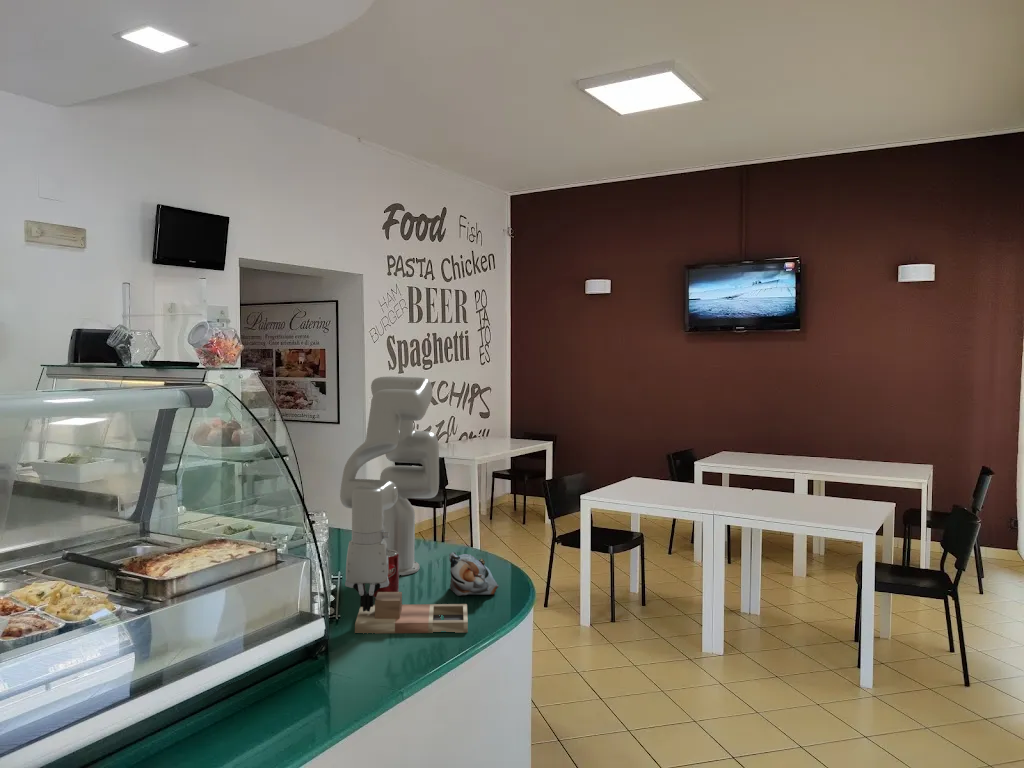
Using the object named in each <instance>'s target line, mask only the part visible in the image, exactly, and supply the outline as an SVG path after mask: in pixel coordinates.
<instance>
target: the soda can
mask: <svg viewBox="0 0 1024 768" xmlns="http://www.w3.org/2000/svg"><path fill="white" fill-rule="evenodd" d="M387 550H388V565H389V572H388V580H389V585H388V586H387V587H383V588H379V589H378V590H377V591H376V592H375V593H374V594H373V599H374V600H375V599H376V596H377V593H378V592H400V591H399V590H400V589H399V587H400V576H399V553H398V552H397V551H395V550H389V549H387Z"/></svg>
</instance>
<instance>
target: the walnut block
mask: <svg viewBox="0 0 1024 768" xmlns="http://www.w3.org/2000/svg"><path fill="white" fill-rule="evenodd" d="M402 599H403V592H402V591H399V592H378V593H377V596H376V599H375V598H374V605H375V619H400V615H401V610H402V605H403V604H402V603H403V600H402Z"/></svg>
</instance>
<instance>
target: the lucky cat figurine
mask: <svg viewBox="0 0 1024 768" xmlns="http://www.w3.org/2000/svg"><path fill="white" fill-rule="evenodd" d="M449 562H450V570H449V571H450V580H449V581H450V583H449V588H450V591H452V593H454V594H455V595H456V596H458V597H460V596H467V595H482V596H483V595H484V596H485V595H490V596H492V595H493V596H494V595H495V593H496V591H497V589H498V588H499V585H500V584H498V583H497V581H496V580H495V578H494V575H493V573H492V572H491V570H490V568H489V567H487V566H486V565H485V564H486V561H485V560H484V558H479V559H477V558H476V557H475V556H473V555H471V554H467V553H463V554H459V555H457V554H456V552H454V551H453V552H450V553H449Z"/></svg>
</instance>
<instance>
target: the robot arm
mask: <svg viewBox="0 0 1024 768" xmlns="http://www.w3.org/2000/svg"><path fill="white" fill-rule="evenodd" d="M370 384H371V385H370V390H371V395H372V397H371V403H370V409H369V416H368V421H367V422H368V423H367V428H366V434H365V435H366V437H365V441H364V442H363V443H362V444H361V445H359V446H358V447H357V448H356V449H355V450H354V451H353V453H351V454H350V456H349V457H348V459H347V461H346V463H345V465H344V467H343V472H342V477H341V483H340V490H339V497H340V498H339V499H340V502H341V504H342V505H343V507H345V508H347V509H351V540H349V541H348V547H347V554H346V563H345V583H344V586H345V587H348V588H351V589H354V590H355V591H356V592H357V593H358V594H359V596H360V604H359V605H360V607H363V611H366V609H367V611H370V608H371V607H373V605H374V597H373V594H374V593H375V592H376V591H377V590H378V589H379V588H383V587H387V586H388V585H389V580H388V572H389V565H388V550H387V549H389V550H395V551H397V552H398V553H399V577H400V575H401V576H407V575H412V574H414V573H416V572H418V571H419V570H420V564H419V563H418V562H417V561H415V546H416V545H415V541H416V540H415V531H416V530H415V529H416V528H415V527H416V521H415V520H416V512H415V508H414V507H413V505H412V504H411V502H410V501H409V499H433V498H435V497H436V496H437V495H438V494H439V493H438V492H439V489H440V487H439V486H440V449H439V448H440V447H439V440H438V437H437V435H436V433H434V432H432V431H427V430H415V429H414V422H415V421H416V422H418V421H422V419H423V418H424V417H425V415H426V413H427V411H428V408H429V406H430V404H431V402H432V398H433V386H432V383H431V381H430V380H429V379H428V378H425V377H417V376H416V377H414V376H412V377H411V376H408V377H407V376H378V377H377V378H376V377H375V378H374V379H373V380H372V381H371V383H370ZM384 455H385V457H386V460H388V461H390V462H393V463H403V464H404V463H407V464H409V463H410V464H420V466H419V465H418V466H416V465H415V466H414V465H390V466H387V467H385V468H384V469H383V470H382V471H381V473H380V476H379V479H373V478H371V479H367V478H366V479H365V478H356V477H357V473H358V471H359V470H360V469H361V468H362V467H363V466H364V465H365V464H367V463H368V462H370V461H372V460H374V459H376V458H378V457H381V456H384ZM421 465H422V466H421ZM366 584H369V589H368V590H366V586H365V585H366Z"/></svg>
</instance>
